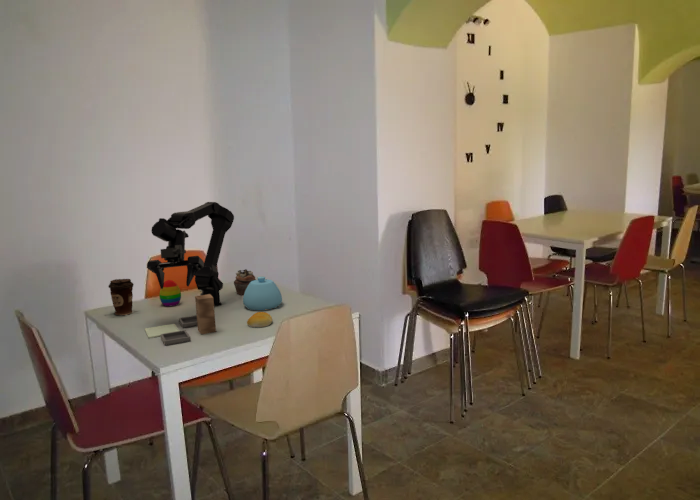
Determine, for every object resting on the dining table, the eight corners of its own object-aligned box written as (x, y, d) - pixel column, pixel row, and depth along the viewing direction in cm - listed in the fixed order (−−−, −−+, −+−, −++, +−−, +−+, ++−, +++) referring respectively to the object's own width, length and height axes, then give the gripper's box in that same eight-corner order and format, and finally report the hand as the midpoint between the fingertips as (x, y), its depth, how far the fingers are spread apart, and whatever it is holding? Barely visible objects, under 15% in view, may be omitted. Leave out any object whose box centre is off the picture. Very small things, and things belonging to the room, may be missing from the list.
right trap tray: (201, 318, 205) (201, 314, 204) (206, 324, 197) (205, 320, 197) (178, 322, 201) (178, 318, 201) (182, 328, 194) (182, 324, 194)
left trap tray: (185, 334, 188) (185, 329, 188) (190, 341, 181) (190, 336, 180) (161, 338, 184) (160, 334, 184) (164, 345, 177) (164, 341, 177)
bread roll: (244, 328, 193) (243, 317, 192) (253, 320, 202) (252, 309, 201) (267, 328, 191) (266, 317, 191) (275, 320, 200) (274, 310, 199)
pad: (174, 325, 198) (174, 323, 198) (179, 333, 189) (179, 331, 189) (144, 330, 193) (144, 328, 193) (148, 338, 185) (148, 337, 185)
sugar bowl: (278, 299, 228) (276, 271, 226) (286, 308, 214) (284, 279, 212) (240, 303, 223) (239, 274, 221) (246, 313, 209) (244, 283, 207)
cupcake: (262, 292, 239) (260, 269, 237) (244, 297, 232) (242, 273, 230) (247, 288, 246) (246, 266, 244) (229, 293, 238) (228, 270, 237)
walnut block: (212, 327, 194) (209, 294, 192) (216, 331, 189) (213, 297, 187) (197, 330, 192) (195, 296, 189) (201, 334, 187) (198, 299, 185)
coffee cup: (120, 318, 208) (116, 284, 206) (106, 315, 212) (102, 281, 210) (140, 311, 215) (137, 278, 213) (126, 309, 220) (123, 276, 217)
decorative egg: (173, 308, 219) (170, 283, 217) (156, 306, 222) (153, 281, 220) (186, 302, 227) (183, 278, 225) (169, 301, 230) (167, 277, 228)
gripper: (141, 240, 194) (138, 283, 188) (194, 234, 193) (192, 277, 187) (154, 251, 204) (152, 292, 199) (204, 246, 203) (203, 287, 198)
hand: (174, 287), depth 195 cm, fingers open, 9 cm apart
